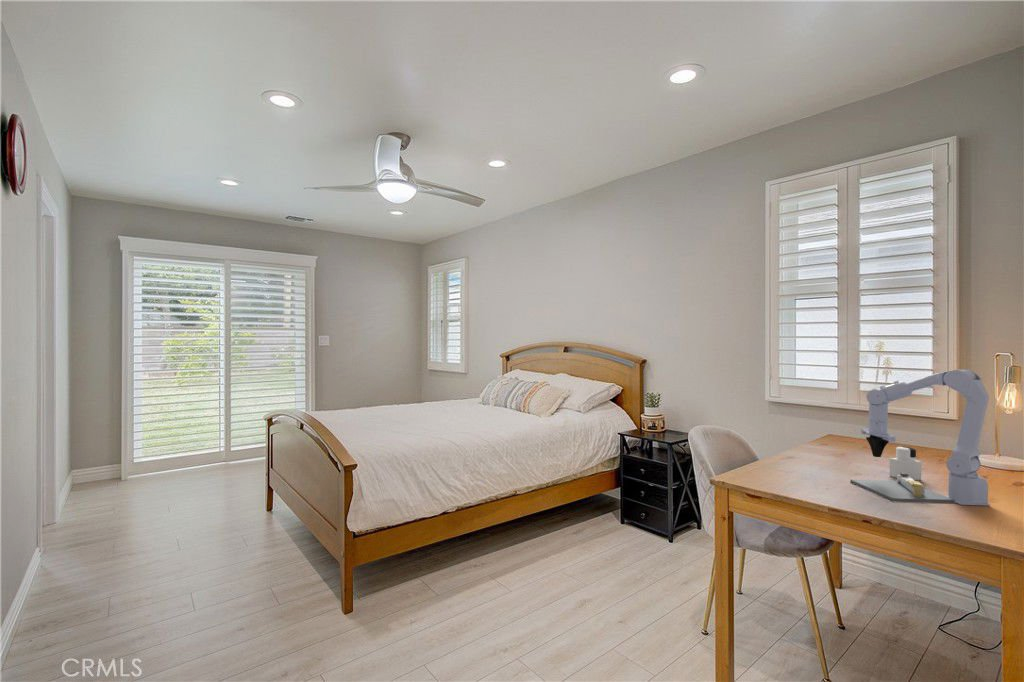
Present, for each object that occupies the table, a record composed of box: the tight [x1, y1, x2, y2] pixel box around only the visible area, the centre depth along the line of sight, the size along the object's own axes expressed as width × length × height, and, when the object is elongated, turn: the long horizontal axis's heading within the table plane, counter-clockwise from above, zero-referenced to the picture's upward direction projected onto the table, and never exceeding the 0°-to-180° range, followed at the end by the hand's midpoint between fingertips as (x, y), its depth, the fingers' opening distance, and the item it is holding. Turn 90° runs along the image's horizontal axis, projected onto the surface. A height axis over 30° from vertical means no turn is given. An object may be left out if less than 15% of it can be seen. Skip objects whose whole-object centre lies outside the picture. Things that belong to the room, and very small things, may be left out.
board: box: [849, 473, 955, 504], centre depth 171 cm, size 20×21×5 cm
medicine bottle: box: [889, 445, 923, 481], centre depth 189 cm, size 7×7×12 cm
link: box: [896, 475, 926, 494], centre depth 173 cm, size 16×4×2 cm, turn 158°
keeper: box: [907, 480, 925, 498], centre depth 166 cm, size 6×3×4 cm, turn 154°
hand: (876, 456), depth 183 cm, fingers closed
